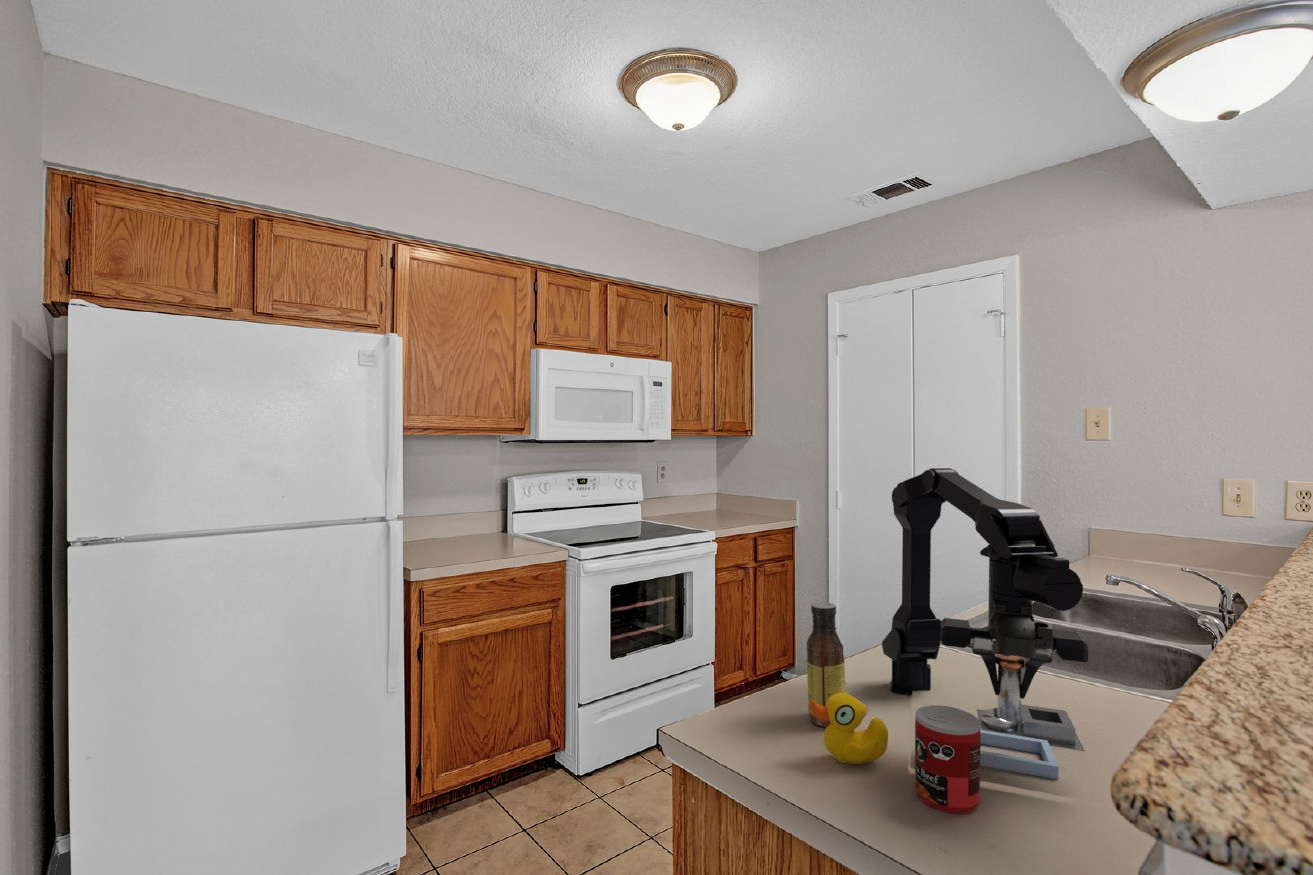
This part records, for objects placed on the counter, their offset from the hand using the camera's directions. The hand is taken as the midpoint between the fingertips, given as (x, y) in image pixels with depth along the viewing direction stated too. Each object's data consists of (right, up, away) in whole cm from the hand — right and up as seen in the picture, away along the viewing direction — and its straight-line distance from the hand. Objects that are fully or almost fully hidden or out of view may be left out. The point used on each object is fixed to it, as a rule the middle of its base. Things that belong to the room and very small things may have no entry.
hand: (1009, 695), depth 95 cm
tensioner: (+8, -10, +9) cm, 16 cm away
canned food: (-13, -10, -9) cm, 19 cm away
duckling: (-24, -10, 0) cm, 26 cm away
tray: (0, -10, 0) cm, 10 cm away
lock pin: (0, -3, 0) cm, 3 cm away
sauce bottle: (-24, -10, +13) cm, 29 cm away
